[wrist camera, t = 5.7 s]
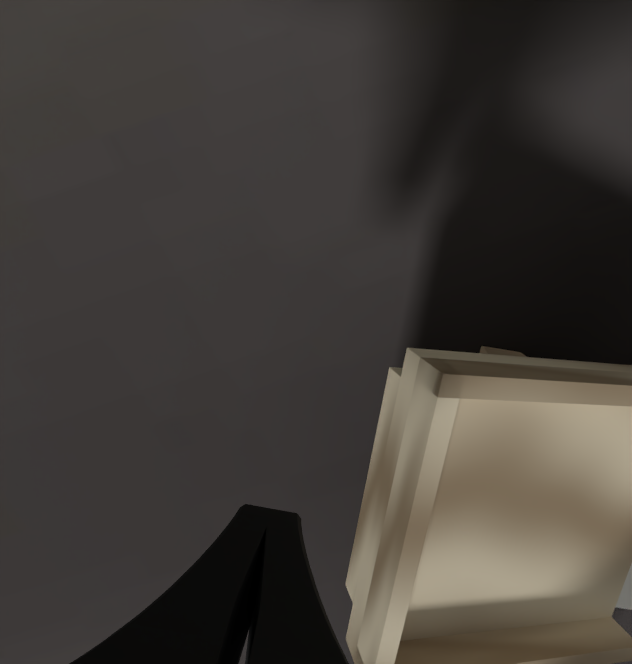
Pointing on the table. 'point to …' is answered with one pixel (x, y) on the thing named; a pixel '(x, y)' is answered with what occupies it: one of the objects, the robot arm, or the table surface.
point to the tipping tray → (495, 514)
